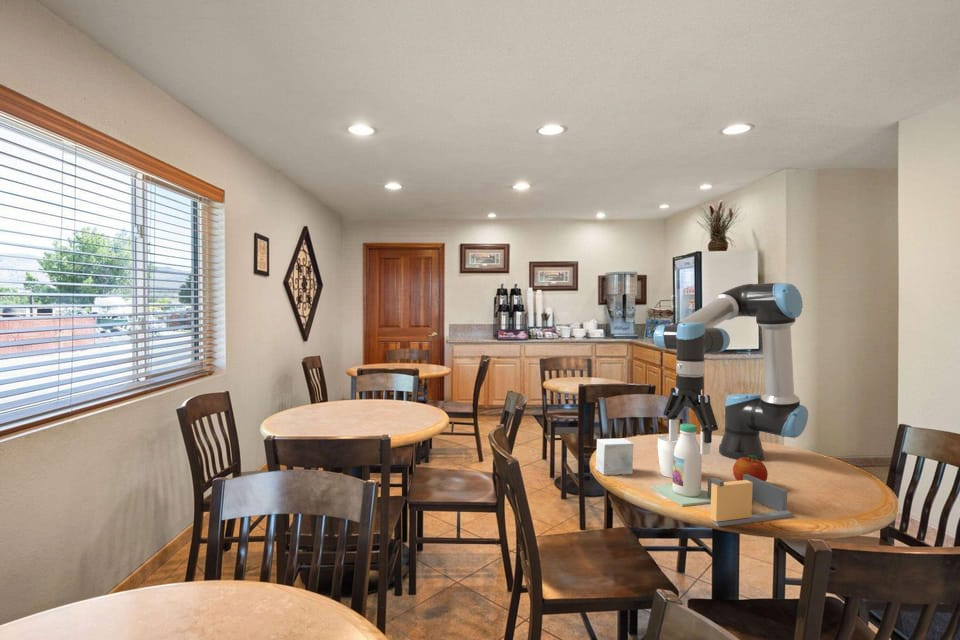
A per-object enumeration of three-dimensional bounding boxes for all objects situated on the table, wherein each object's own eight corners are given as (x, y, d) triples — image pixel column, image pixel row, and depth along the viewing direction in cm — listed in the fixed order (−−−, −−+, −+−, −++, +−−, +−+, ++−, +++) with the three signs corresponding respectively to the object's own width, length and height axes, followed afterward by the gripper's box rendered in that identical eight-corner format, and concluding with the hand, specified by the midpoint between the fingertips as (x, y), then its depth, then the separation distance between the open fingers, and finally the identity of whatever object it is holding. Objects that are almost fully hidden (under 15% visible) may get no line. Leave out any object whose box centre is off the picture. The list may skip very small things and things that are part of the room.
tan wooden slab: (744, 513, 129) (745, 474, 129) (752, 517, 126) (754, 478, 126) (709, 517, 126) (710, 478, 126) (717, 522, 123) (718, 481, 123)
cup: (688, 480, 157) (689, 443, 157) (658, 478, 159) (659, 441, 159) (682, 471, 166) (683, 436, 166) (654, 469, 168) (655, 434, 167)
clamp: (746, 494, 146) (747, 474, 146) (794, 516, 131) (795, 494, 131) (675, 502, 139) (676, 481, 139) (717, 526, 124) (718, 502, 124)
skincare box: (603, 476, 160) (604, 444, 160) (595, 469, 166) (596, 438, 166) (633, 474, 162) (634, 442, 162) (623, 468, 169) (624, 437, 168)
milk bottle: (699, 489, 147) (701, 423, 147) (701, 499, 140) (704, 429, 140) (671, 486, 150) (673, 421, 149) (672, 495, 143) (674, 426, 142)
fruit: (761, 481, 158) (762, 450, 157) (771, 492, 148) (772, 459, 148) (728, 478, 160) (729, 448, 159) (737, 489, 150) (738, 456, 150)
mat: (689, 484, 154) (690, 482, 154) (723, 501, 140) (723, 499, 140) (651, 488, 150) (651, 486, 150) (682, 506, 136) (682, 504, 136)
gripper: (652, 369, 155) (651, 436, 156) (710, 382, 131) (708, 461, 132) (672, 368, 157) (671, 434, 158) (733, 381, 133) (731, 458, 134)
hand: (688, 447), depth 145 cm, fingers open, 13 cm apart
